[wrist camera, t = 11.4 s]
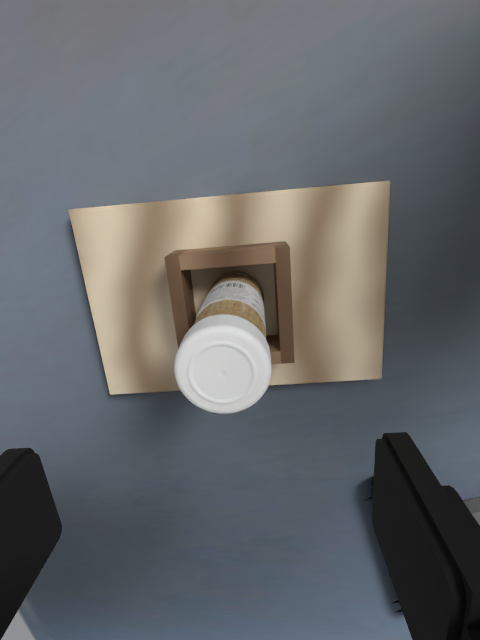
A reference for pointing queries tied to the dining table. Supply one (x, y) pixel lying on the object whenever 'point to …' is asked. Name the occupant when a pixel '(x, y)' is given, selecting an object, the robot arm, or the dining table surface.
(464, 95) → the dining table surface
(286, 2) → the dining table surface
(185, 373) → the sprinkles bottle
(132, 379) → the spice stand
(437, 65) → the dining table surface
